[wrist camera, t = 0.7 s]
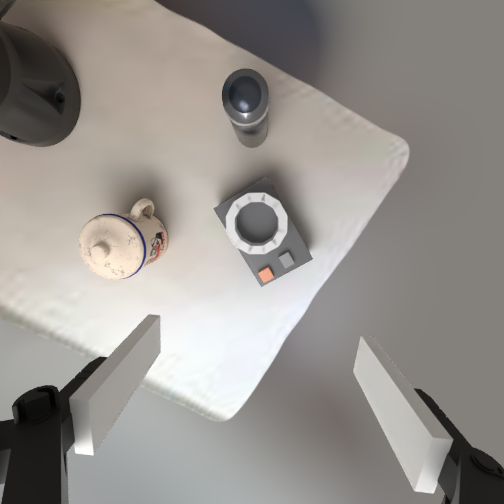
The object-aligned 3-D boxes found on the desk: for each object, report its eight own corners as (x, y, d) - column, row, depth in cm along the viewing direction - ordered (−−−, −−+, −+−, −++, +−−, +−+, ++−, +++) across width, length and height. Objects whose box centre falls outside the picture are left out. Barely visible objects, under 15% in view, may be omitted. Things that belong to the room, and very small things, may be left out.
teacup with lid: (156, 272, 42) (115, 300, 31) (109, 246, 41) (50, 264, 30) (186, 213, 39) (155, 219, 28) (137, 184, 39) (85, 178, 27)
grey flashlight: (230, 125, 36) (211, 85, 23) (257, 107, 35) (253, 55, 22) (246, 154, 37) (237, 131, 24) (273, 137, 36) (278, 103, 23)
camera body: (218, 207, 39) (209, 209, 32) (266, 178, 37) (266, 173, 31) (261, 278, 41) (261, 293, 35) (308, 253, 40) (316, 263, 33)
